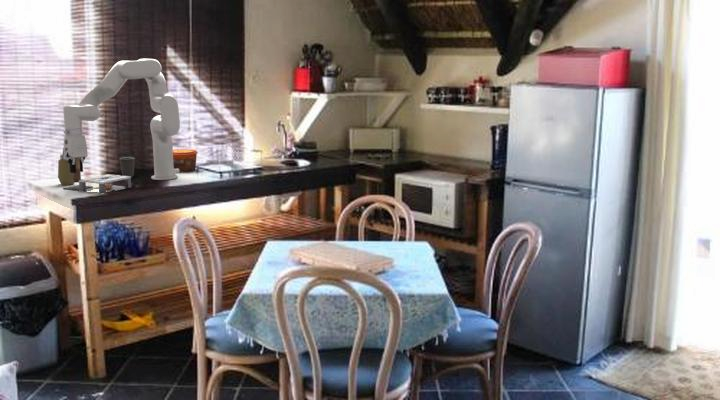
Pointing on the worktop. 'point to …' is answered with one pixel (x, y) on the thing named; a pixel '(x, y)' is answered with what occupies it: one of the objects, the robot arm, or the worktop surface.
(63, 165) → the squeeze bottle
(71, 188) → the mat
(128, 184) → the small grey pallet
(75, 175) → the dowel
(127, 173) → the coffee cup
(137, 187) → the worktop surface
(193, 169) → the food container
